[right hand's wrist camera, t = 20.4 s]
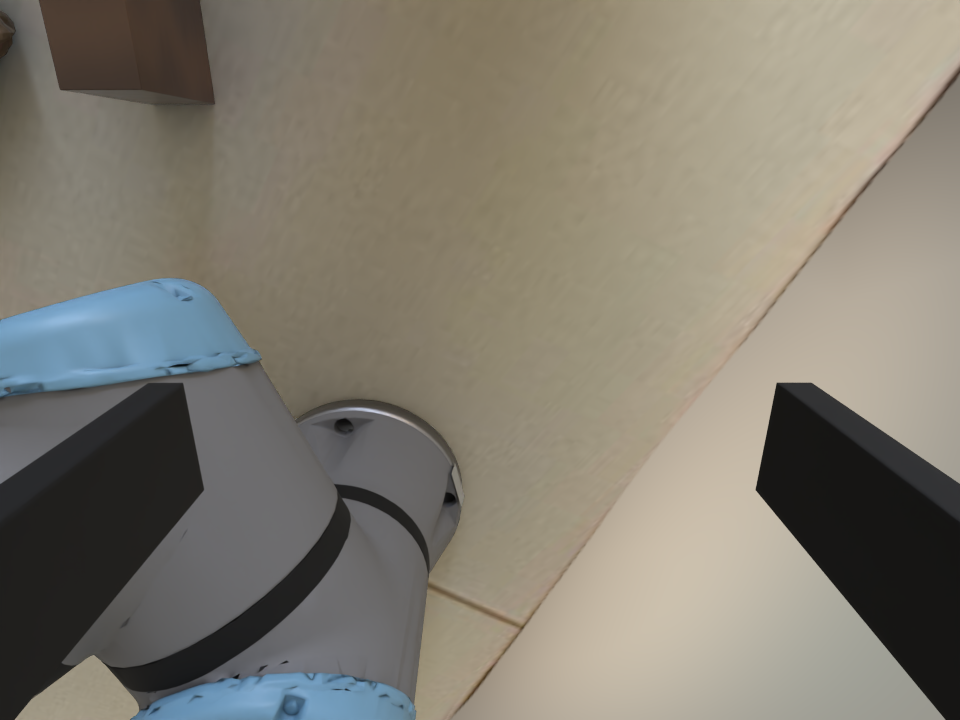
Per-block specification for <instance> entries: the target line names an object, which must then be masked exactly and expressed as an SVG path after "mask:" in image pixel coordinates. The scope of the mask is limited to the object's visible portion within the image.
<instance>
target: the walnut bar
mask: <svg viewBox="0 0 960 720" xmlns="http://www.w3.org/2000/svg"><path fill="white" fill-rule="evenodd" d="M39 2H40V6H41V11H42V15H43V19H44V24H45V28H46V32H47V36H48V41H49V45H50V49H51V53H52V58H53V62H54V66H55V70H56V75H57V79H58V83H59V88H60V90H64V91H70V92H76V93H83V94H89V95H95V96H102V97H108V98H114V99H121V100H127V101H133V102H139V103H146V104H215V101H214V95H213V88H212V81H211V74H210V68H209V61H208V54H207V48H206V41H205V34H204V28H203V21H202V14H201V7H200V1H199V0H39Z"/></svg>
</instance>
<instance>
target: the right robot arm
mask: <svg viewBox="0 0 960 720" xmlns="http://www.w3.org/2000/svg"><path fill="white" fill-rule="evenodd" d="M261 359H262V358H261V355H260V353H259V352H258V351H257V350H254V349H252V348H250V347H249V345H248V344H247V342H246V341H245V339H244V338H243V337H242V335H241V334H240V332H239V331H238V329H237V328H236V326H235V325H234V323H233V322H232V321H231V319H230V318H229V316H228V315H227V313H226V312H225V310H224V309H223V307H222V306H221V304H220V303H219V301H218V300H217V299H216V298H215V297H214V295H213V294H212V293H211V292H209V291H208V290H207V289H206V288H204V287H202V286H201V285H199V284H197V283H194V282H192V281H188V280H184V279H179V278H162V279H154V280H149V281H143V282H139V283H135V284H130V285H126V286H122V287H118V288H114V289H109V290H105V291H101V292H98V293H94V294H90V295H86V296H82V297H79V298H75V299H71V300H68V301H64V302H60V303H57V304H53V305H50V306H46V307H43V308H39V309H36V310H32V311H29V312H25V313H22V314H18V315H15V316H12V317H8V318H5V319H2V320H0V720H15V718H16V717H17V716H18V715H19V713H20V712H21V711H22V710H23V709H24V707H25V706H26V705H27V704H28V703H29V701H30V700H31V699H32V698H34V697H35V696H37V695H38V694H40V693H41V692H42V691H43V690H45V689H46V688H47V687H49V686H50V685H51V684H53V683H54V682H55V681H57V680H58V679H59V678H61V677H62V676H63V675H65V674H66V673H67V672H68V671H70V670H71V669H72V668H74V667H75V666H76V665H78V664H79V663H81V662H82V661H84V660H85V659H86V658H88V657H90V656H92V655H95V656H96V657H97V658H98V659H100V660H101V661H102V662H103V663H104V664H105V665H106V666H107V667H108V668H109V669H110V671H111V672H112V673H113V674H114V675H115V676H116V677H117V678H118V679H119V681H120V682H121V683H122V684H123V686H124V687H125V688H126V689H127V690H128V691H129V692H130V694H131V695H132V696H133V697H134V698H135V699H136V701H137V703H138V704H139V712H138V714H137V715H136V716H134V717H133V718H131V719H130V720H415V717H416V710H414V709H415V706H414V700H415V691H416V682H417V674H418V665H419V656H420V647H421V639H422V630H423V621H424V613H425V604H426V595H427V586H428V577H429V573H430V572H431V570H432V568H433V567H434V565H435V564H436V562H437V561H438V559H439V557H440V556H441V554H442V553H443V551H444V550H445V548H446V546H447V545H448V543H449V542H450V540H451V539H452V537H453V535H454V533H455V531H456V528H457V526H458V522H459V519H460V513H461V507H462V504H463V501H464V497H465V496H464V492H463V489H462V480H461V474H460V470H459V467H458V464H457V461H456V459H455V456H454V454H453V453H452V451H451V449H450V447H449V446H448V444H447V443H446V441H445V440H444V439H443V438H442V437H441V435H440V434H439V433H438V432H437V431H436V430H435V429H434V428H433V427H431V426H430V425H429V424H428V423H427V422H425V421H424V420H422V419H421V418H419V417H418V416H416V415H414V414H413V413H411V412H409V411H407V410H404V409H402V408H400V407H397V406H394V405H391V404H388V403H383V402H379V401H372V400H344V401H337V402H333V403H329V404H326V405H323V406H320V407H317V408H315V409H313V410H311V411H309V412H307V413H306V414H304V415H302V416H301V417H299V418H298V419H297V420H294V418H293V417H292V415H291V413H290V412H289V410H288V408H287V407H286V405H285V404H284V402H283V400H282V399H281V397H280V395H279V394H278V392H277V390H276V389H275V387H274V385H273V384H272V382H271V381H270V379H269V377H268V376H267V374H266V372H265V371H264V369H263V367H262V366H261V364H260V362H259V361H258V360H261ZM756 491H757V492H758V493H759V495H760V496H761V497H762V498H763V499H764V501H765V502H766V503H767V504H768V505H769V507H770V508H771V509H772V510H773V512H774V513H775V514H776V515H777V516H778V518H779V519H780V520H781V521H782V522H783V524H784V525H785V526H786V527H787V528H788V530H789V531H790V532H791V533H792V534H793V536H794V537H795V538H796V539H797V541H798V542H799V543H800V544H801V545H802V547H803V548H804V549H805V550H806V551H807V553H808V554H809V555H810V556H811V557H812V559H813V560H814V561H815V562H816V564H817V565H818V566H819V567H820V568H821V570H822V571H823V572H824V573H825V574H826V576H827V577H828V578H829V579H830V580H831V582H832V583H833V584H834V585H835V587H836V588H837V589H838V590H839V591H840V593H841V594H842V595H843V596H844V597H845V599H846V600H847V601H848V602H849V603H850V605H851V606H852V607H853V608H854V609H855V611H856V612H857V613H858V614H859V615H860V617H861V618H862V619H863V620H864V622H865V623H866V624H867V625H868V626H869V628H870V629H871V630H872V631H873V632H874V634H875V635H876V636H877V637H878V638H879V640H880V641H881V642H882V643H883V645H884V646H885V647H886V648H887V649H888V651H889V652H890V653H891V654H892V655H893V657H894V658H895V659H896V660H897V661H898V663H899V664H900V665H901V666H902V667H903V669H904V670H905V671H906V672H907V674H908V675H909V676H910V677H911V678H912V680H913V681H914V682H915V683H916V684H917V686H918V687H919V688H920V689H921V690H922V692H923V693H924V694H925V695H926V696H927V698H928V699H929V700H930V701H931V703H932V704H933V705H934V706H935V707H936V709H937V710H938V711H939V712H940V713H941V715H942V716H943V717H944V718H945V720H960V484H959V483H958V482H956V481H955V480H953V479H952V478H950V477H949V476H947V475H946V474H944V473H943V472H941V471H940V470H939V469H937V468H936V467H934V466H933V465H931V464H930V463H928V462H927V461H925V460H924V459H922V458H921V457H919V456H918V455H917V454H915V453H914V452H912V451H911V450H909V449H908V448H906V447H905V446H903V445H902V444H900V443H899V442H898V441H896V440H895V439H893V438H892V437H890V436H889V435H887V434H886V433H884V432H883V431H881V430H880V429H878V428H877V427H875V426H874V425H873V424H871V423H870V422H868V421H867V420H865V419H864V418H862V417H861V416H859V415H858V414H856V413H855V412H854V411H852V410H850V409H849V408H848V407H846V406H845V405H843V404H842V403H840V402H839V401H837V400H836V399H834V398H833V397H832V396H830V395H829V394H827V393H826V392H824V391H823V390H821V389H820V388H818V387H817V386H815V385H814V384H812V383H777V384H776V389H775V395H774V400H773V405H772V410H771V415H770V420H769V425H768V430H767V435H766V440H765V445H764V450H763V455H762V460H761V465H760V470H759V476H758V481H757V486H756Z"/></svg>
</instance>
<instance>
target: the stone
mask: <svg viewBox="0 0 960 720" xmlns="http://www.w3.org/2000/svg"><path fill="white" fill-rule="evenodd" d="M14 33H15V28H14V24H13V22H12V21H11V19H10V18H9V17H8V16H7V14H5V13H4V12H2V11H0V58H1V57H3V56H4V55H5V54H6V53H7V50H8V49H9V47H10V46H11V45H12V36H13V34H14Z"/></svg>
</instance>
